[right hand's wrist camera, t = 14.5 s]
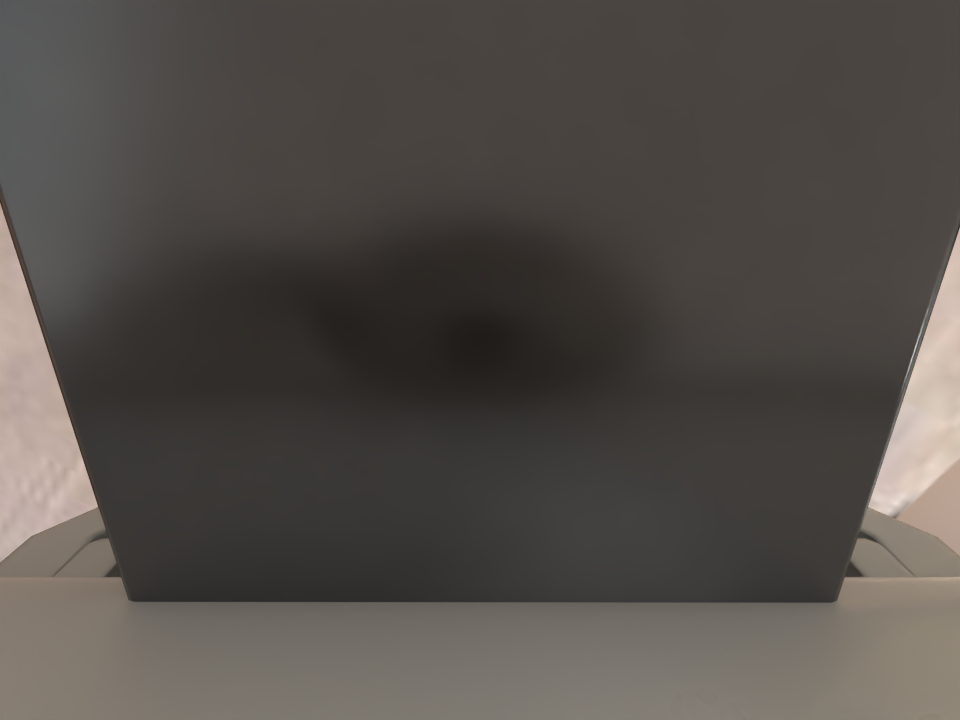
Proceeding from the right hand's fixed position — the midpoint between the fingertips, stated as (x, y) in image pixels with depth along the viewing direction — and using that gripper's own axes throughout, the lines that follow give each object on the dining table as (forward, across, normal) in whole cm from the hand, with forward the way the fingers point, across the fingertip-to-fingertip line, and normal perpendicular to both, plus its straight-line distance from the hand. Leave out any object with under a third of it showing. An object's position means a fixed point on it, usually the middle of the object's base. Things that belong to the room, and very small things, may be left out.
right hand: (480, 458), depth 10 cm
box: (+5, 0, -10) cm, 11 cm away
